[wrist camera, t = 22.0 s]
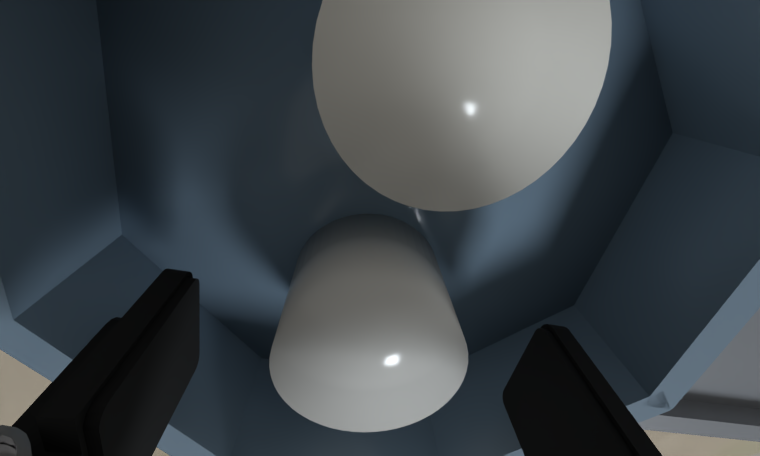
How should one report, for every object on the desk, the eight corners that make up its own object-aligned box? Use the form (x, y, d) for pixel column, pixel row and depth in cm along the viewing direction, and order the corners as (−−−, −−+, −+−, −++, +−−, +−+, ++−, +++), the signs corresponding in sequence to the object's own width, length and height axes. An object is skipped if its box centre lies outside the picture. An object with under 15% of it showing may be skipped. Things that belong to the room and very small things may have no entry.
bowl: (807, -86, 9) (1195, -200, 5) (530, 391, 17) (587, 507, 13) (26, -370, 7) (-570, -1115, 2) (120, 343, 14) (19, 468, 10)
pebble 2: (456, 228, 12) (497, 305, 8) (417, 339, 14) (436, 439, 10) (304, 201, 11) (279, 273, 8) (288, 323, 13) (262, 423, 10)
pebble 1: (546, -23, 9) (672, -69, 5) (482, 169, 11) (540, 228, 7) (346, -76, 8) (335, -170, 5) (319, 139, 10) (297, 189, 7)
